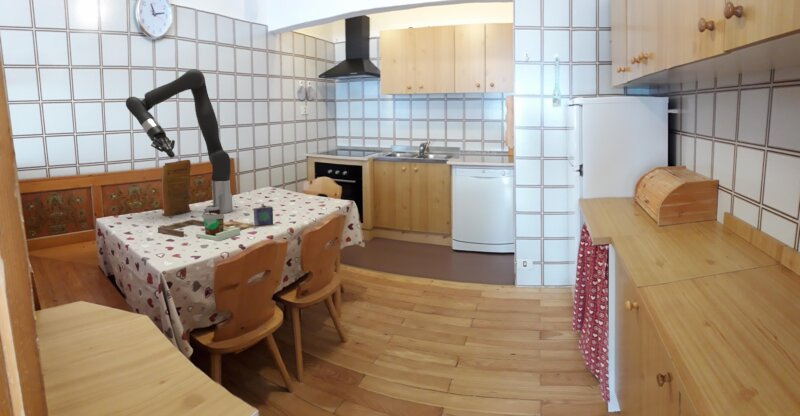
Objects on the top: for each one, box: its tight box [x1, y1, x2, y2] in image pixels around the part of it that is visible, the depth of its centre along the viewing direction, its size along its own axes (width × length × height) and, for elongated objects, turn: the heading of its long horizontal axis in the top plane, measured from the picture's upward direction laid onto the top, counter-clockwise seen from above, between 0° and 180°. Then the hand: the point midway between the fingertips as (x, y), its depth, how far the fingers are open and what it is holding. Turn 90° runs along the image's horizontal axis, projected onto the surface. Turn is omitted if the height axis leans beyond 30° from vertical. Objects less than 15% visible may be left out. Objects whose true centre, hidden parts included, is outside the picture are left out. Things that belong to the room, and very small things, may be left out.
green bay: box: [195, 228, 241, 242], centre depth 230 cm, size 13×13×3 cm
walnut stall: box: [157, 219, 205, 238], centre depth 239 cm, size 19×15×2 cm
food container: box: [201, 210, 225, 236], centre depth 231 cm, size 12×6×10 cm, turn 54°
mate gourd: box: [204, 192, 223, 214], centre depth 254 cm, size 8×8×15 cm
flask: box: [253, 202, 274, 227], centre depth 250 cm, size 9×3×11 cm, turn 120°
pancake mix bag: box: [161, 159, 192, 217], centre depth 270 cm, size 7×19×28 cm, turn 151°
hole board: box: [223, 220, 255, 231], centre depth 245 cm, size 14×14×1 cm
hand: (172, 156), depth 251 cm, fingers closed
